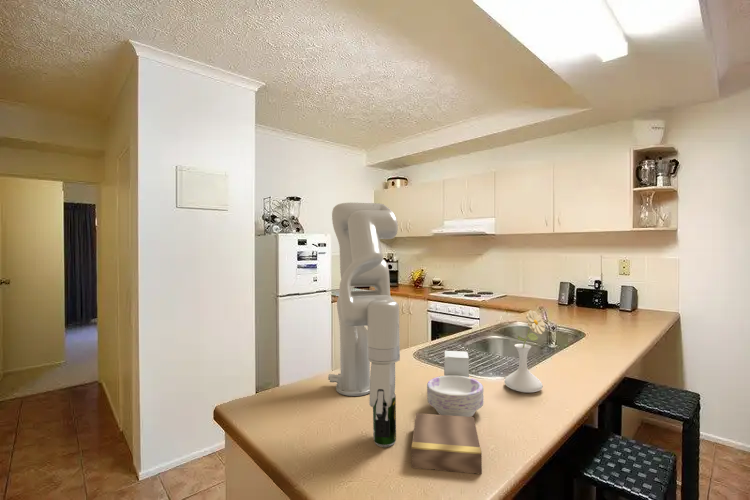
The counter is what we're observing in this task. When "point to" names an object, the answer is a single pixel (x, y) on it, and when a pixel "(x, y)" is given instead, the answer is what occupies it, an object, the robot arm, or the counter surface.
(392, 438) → the beer can
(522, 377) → the flower in vase
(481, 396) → the paper bowls
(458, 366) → the supplement box
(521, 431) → the counter surface
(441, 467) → the gold striped gift box
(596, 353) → the counter surface
